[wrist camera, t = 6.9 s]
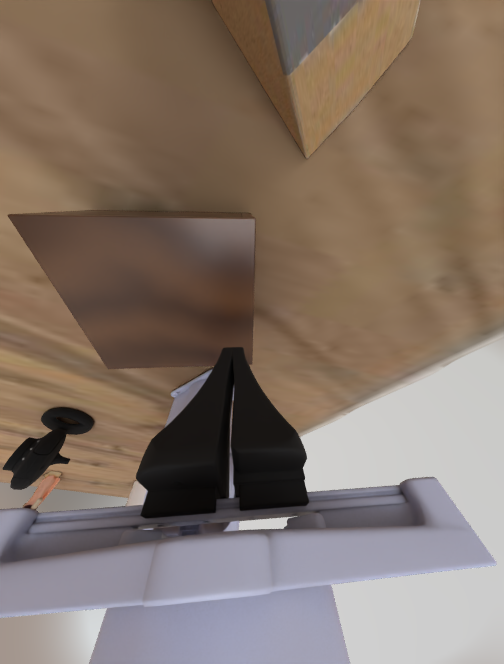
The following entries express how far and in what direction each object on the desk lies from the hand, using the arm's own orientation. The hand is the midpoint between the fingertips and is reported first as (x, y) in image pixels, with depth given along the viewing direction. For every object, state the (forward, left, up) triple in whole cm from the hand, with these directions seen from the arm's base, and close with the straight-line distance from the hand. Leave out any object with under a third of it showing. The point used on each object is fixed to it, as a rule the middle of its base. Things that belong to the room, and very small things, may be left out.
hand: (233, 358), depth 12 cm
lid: (-3, +5, -4) cm, 7 cm away
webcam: (-39, -1, -11) cm, 40 cm away
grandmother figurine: (-68, -11, -11) cm, 70 cm away
